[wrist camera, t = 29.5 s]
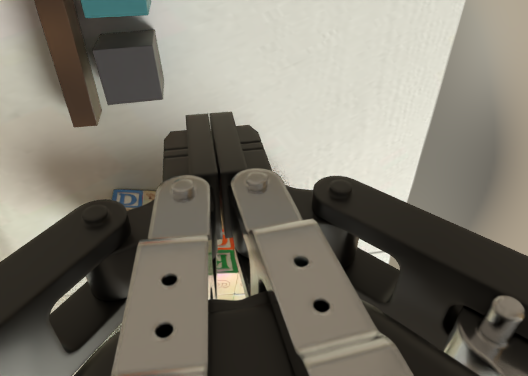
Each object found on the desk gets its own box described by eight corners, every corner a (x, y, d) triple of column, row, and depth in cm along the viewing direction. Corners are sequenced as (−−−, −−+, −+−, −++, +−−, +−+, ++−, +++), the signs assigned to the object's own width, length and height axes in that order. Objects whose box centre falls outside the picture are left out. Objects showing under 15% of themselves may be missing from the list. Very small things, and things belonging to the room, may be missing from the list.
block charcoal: (100, 33, 34) (92, 50, 30) (154, 29, 34) (152, 45, 31) (114, 84, 36) (107, 105, 33) (163, 79, 37) (163, 99, 33)
